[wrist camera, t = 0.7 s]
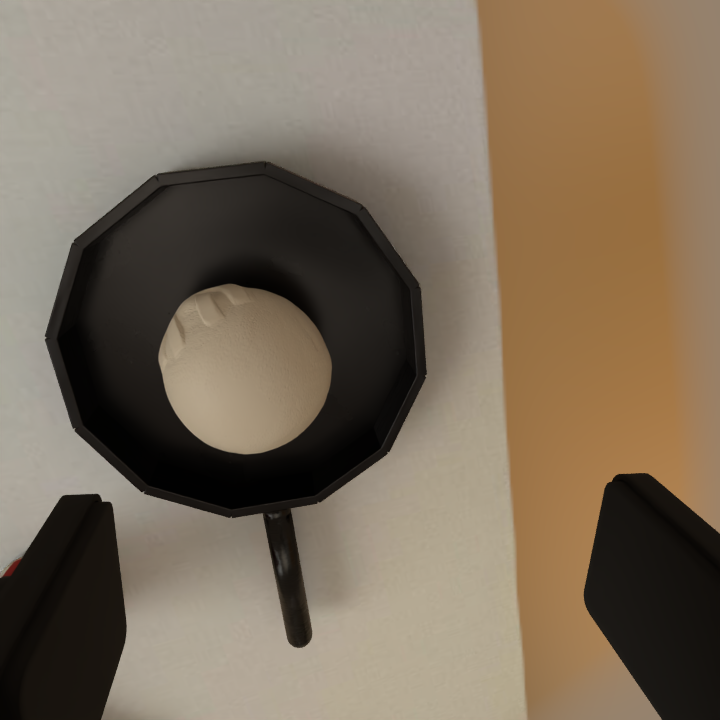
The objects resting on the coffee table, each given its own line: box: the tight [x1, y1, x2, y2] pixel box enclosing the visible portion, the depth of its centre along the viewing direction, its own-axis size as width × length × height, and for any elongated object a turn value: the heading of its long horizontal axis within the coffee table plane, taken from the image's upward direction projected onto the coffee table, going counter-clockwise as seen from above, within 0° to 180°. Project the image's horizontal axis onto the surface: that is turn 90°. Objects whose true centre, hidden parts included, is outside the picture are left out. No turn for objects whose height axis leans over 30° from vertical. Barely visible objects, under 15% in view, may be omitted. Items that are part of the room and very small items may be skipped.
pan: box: [45, 161, 427, 648], centre depth 28 cm, size 25×16×2 cm, turn 6°
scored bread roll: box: [158, 284, 332, 454], centre depth 24 cm, size 7×7×7 cm
